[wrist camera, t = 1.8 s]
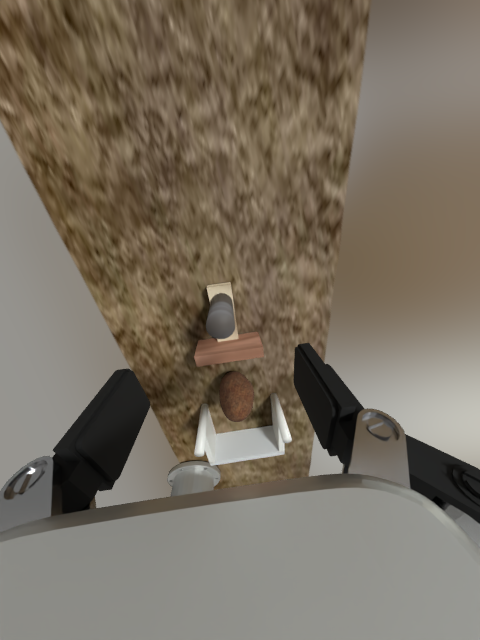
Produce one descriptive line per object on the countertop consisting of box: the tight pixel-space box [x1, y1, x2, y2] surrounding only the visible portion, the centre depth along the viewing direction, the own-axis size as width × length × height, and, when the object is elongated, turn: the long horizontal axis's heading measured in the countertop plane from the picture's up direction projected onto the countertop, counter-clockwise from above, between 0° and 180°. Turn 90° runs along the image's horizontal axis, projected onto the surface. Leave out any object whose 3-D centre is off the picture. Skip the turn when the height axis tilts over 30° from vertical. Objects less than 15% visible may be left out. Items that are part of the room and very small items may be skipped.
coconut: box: [219, 371, 254, 422], centre depth 26 cm, size 5×5×8 cm
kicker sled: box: [194, 282, 264, 367], centre depth 21 cm, size 10×9×8 cm
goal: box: [194, 393, 292, 466], centre depth 31 cm, size 11×15×8 cm
